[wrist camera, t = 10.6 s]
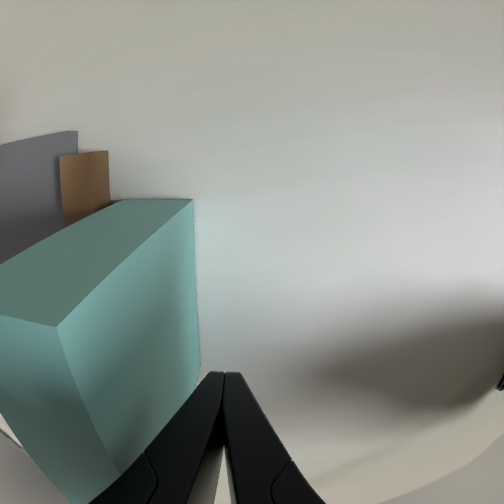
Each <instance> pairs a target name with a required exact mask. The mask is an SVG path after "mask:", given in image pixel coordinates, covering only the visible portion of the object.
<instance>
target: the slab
mask: <svg viewBox="0 0 504 504" xmlns="http://www.w3.org/2000/svg"><path fill="white" fill-rule="evenodd" d="M200 365H201V361H200V348H199V334H198V318H197V300H196V279H195V252H194V204H193V199H123V200H121V201H119V202H117V203H115V204H112V205H110V206H108V207H106V208H104V209H102V210H100V211H98V212H96V213H94V214H92V215H90V216H88V217H86V218H84V219H82V220H80V221H78V222H76V223H74V224H72V225H70V226H68V227H66V228H64V229H62V230H60V231H58V232H57V233H55V234H53V235H51V236H49V237H47V238H45V239H44V240H42V241H40V242H38V243H36V244H35V245H33V246H31V247H29V248H28V249H26V250H24V251H22V252H21V253H19V254H17V255H16V256H14V257H12V258H11V259H9V260H7V261H6V262H4V263H2V264H1V265H0V413H1V414H2V416H3V417H4V419H5V421H6V422H7V424H8V425H9V427H10V428H11V430H12V431H13V433H14V434H15V436H16V437H17V438H18V440H19V441H20V443H21V444H22V446H23V447H24V448H25V450H26V451H27V452H28V454H29V455H30V456H31V458H32V459H33V460H34V461H35V463H36V464H37V465H38V466H39V467H40V469H41V470H42V471H43V472H44V474H45V475H46V476H47V477H48V479H49V480H50V481H51V482H52V483H53V484H54V485H55V486H56V488H57V489H58V490H59V491H60V492H61V493H62V494H63V495H64V496H65V498H66V499H67V500H68V501H69V502H70V503H71V504H88V503H89V502H90V501H92V500H93V499H94V498H95V497H97V496H98V495H99V494H100V493H101V492H103V491H104V490H105V489H106V488H107V487H109V486H110V485H111V484H112V483H113V482H114V481H115V480H116V479H118V478H119V477H120V476H121V475H122V474H123V473H124V472H125V471H126V470H127V469H128V468H129V467H130V465H131V464H132V463H133V462H134V461H135V460H136V459H137V458H138V457H139V455H140V454H141V453H144V450H145V449H146V447H147V446H148V445H149V444H150V443H151V442H152V440H153V439H154V438H155V437H156V436H157V435H158V433H159V432H160V431H161V430H162V429H163V428H164V426H165V425H166V424H167V423H168V422H169V420H170V419H171V418H172V417H173V416H174V414H175V413H176V412H177V411H178V410H179V408H180V407H181V406H182V405H183V404H184V402H185V401H186V400H187V399H188V397H189V396H190V395H191V394H192V393H193V391H194V388H195V384H196V381H197V377H198V373H199V369H200Z"/></svg>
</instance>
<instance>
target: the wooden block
mask: <svg viewBox="0 0 504 504" xmlns="http://www.w3.org/2000/svg"><path fill="white" fill-rule="evenodd" d="M59 163H60V182H61V195H62V206H63V215H64V224H65V228H66V227H68V226H70V225H72V224H74V223H76V222H78V221H80V220H82V219H84V218H86V217H88V216H90V215H92V214H94V213H96V212H98V211H100V210H102V209H104V208H106V207H108V206H110V190H109V169H108V151H100V152H90V153H81V154H74V155H66V156H60V157H59Z"/></svg>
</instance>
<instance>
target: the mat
mask: <svg viewBox="0 0 504 504" xmlns="http://www.w3.org/2000/svg"><path fill="white" fill-rule="evenodd" d="M74 154H78V131H67V132H61V133H55V134H50V135H45V136H40V137H35V138H30V139H25V140H21V141H17V142H12V143H8V144H4V145H0V265H1V264H2V263H4V262H6V261H7V260H9V259H11V258H12V257H14V256H16V255H17V254H19V253H21V252H22V251H24V250H26V249H28V248H29V247H31V246H33V245H35V244H36V243H38V242H40V241H42V240H44V239H45V238H47V237H49V236H51V235H53V234H55V233H57V232H58V231H60V230H62V229H64V228H65V224H64V215H63V206H62V195H61V182H60V163H59V157H60V156H66V155H74Z"/></svg>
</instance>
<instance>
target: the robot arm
mask: <svg viewBox="0 0 504 504" xmlns="http://www.w3.org/2000/svg"><path fill="white" fill-rule="evenodd" d="M497 388H498V390H499V391H502V390H504V375H503V377H502V379H501V381H500V383H499V384H498V387H497ZM224 449H225V459H226V467H227V475H228V483H229V490H230V497H231V504H326V503H325V502H324V501H323V500H322V499H321V498H320V496H319V495H318V494H317V493H316V492H315V491H314V489H313V488H312V487H311V486H310V485H309V483H308V482H307V480H306V479H305V478H304V476H303V475H302V473H301V472H300V470H299V469H298V467H297V466H296V464H295V463H294V461H291V460H292V458H291V457H290V455H289V454H288V452H287V450H286V449H285V447H284V446H283V444H282V442H281V441H280V439H279V437H278V436H277V434H276V433H275V431H274V429H273V428H272V426H271V424H270V423H269V421H268V419H267V418H266V416H265V414H264V412H263V411H262V409H261V407H260V406H259V404H258V402H257V401H256V399H255V397H254V395H253V394H252V392H251V390H250V388H249V387H248V385H247V383H246V381H245V380H244V378H243V376H242V374H241V373H240V372H226V373H224V372H217V371H211V372H209V373H208V374H207V375H206V377H205V378H204V379H203V380H202V381H201V383H200V384H199V385H198V386H197V388H196V389H195V390H194V391H193V393H192V394H191V395H190V396H189V397H188V399H187V400H186V401H185V402H184V404H183V405H182V406H181V407H180V408H179V410H178V411H177V412H176V413H175V414H174V416H173V417H172V418H171V419H170V420H169V422H168V423H167V424H166V425H165V426H164V428H163V429H162V430H161V431H160V432H159V433H158V435H157V436H156V437H155V438H154V439H153V440H152V442H151V443H150V444H149V445H148V446H147V447H146V449H145V450H144V453H141V454H140V455H139V457H138V458H137V459H136V460H135V461H134V462H133V463H132V464H131V465H130V467H129V468H128V469H127V470H126V471H125V472H124V473H123V474H122V475H121V476H120V477H119V478H118V479H116V480H115V481H114V482H113V483H112V484H111V485H110V486H109V487H107V488H106V489H105V490H104V491H103V492H101V493H100V494H99V495H98V496H97V497H95V498H94V499H93V500H92V501H90V502H89V503H88V504H214V500H215V495H216V489H217V484H218V478H219V473H220V467H221V462H222V456H223V450H224Z"/></svg>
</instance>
